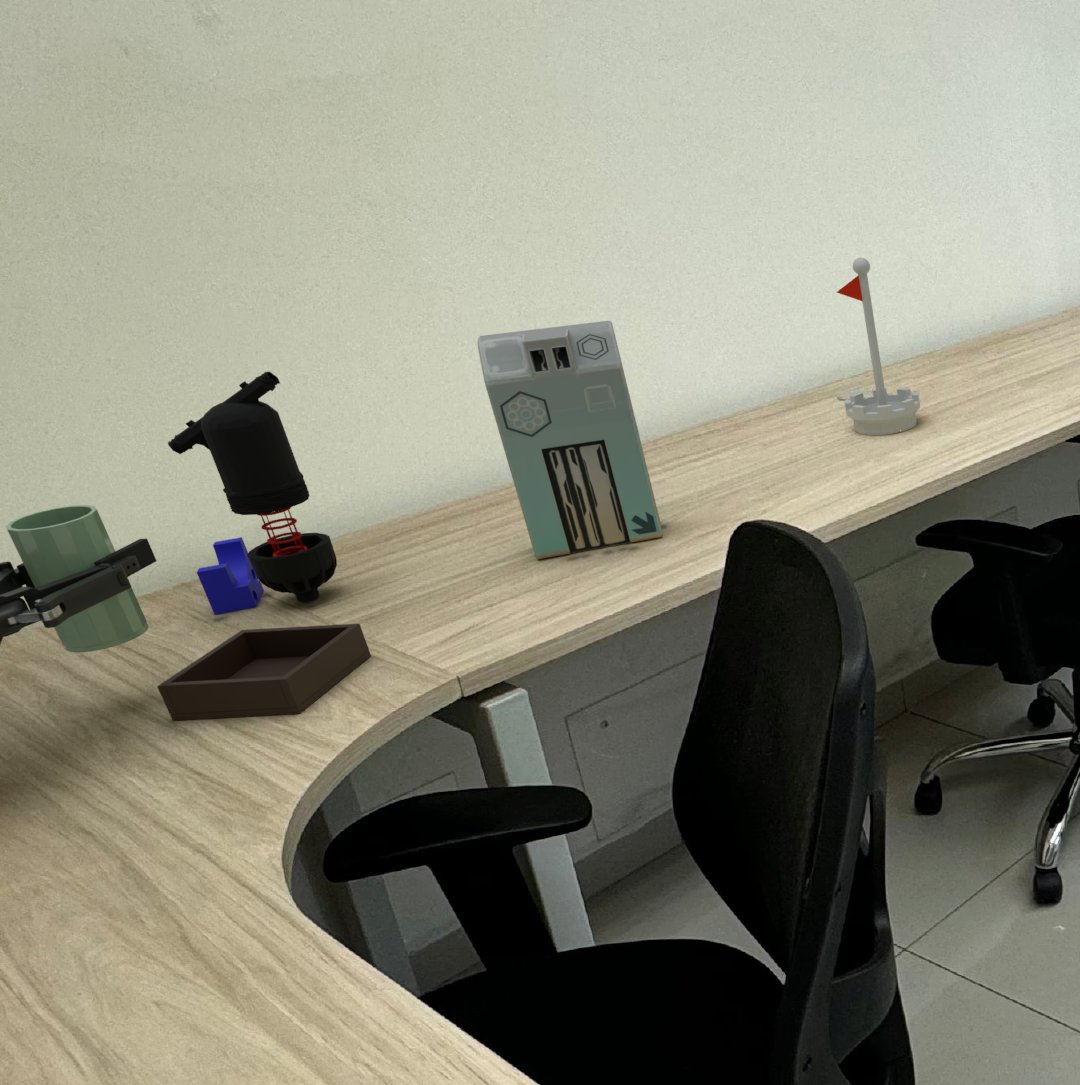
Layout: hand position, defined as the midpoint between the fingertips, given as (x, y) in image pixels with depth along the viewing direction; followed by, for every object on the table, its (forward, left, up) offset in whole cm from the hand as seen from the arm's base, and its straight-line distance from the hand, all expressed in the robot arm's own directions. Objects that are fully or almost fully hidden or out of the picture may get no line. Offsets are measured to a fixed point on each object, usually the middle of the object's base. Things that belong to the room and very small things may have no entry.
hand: (111, 551), depth 136 cm
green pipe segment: (0, -5, -8) cm, 9 cm away
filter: (+1, +22, -16) cm, 28 cm away
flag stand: (+65, +89, -16) cm, 111 cm away
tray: (+14, -3, -16) cm, 22 cm away
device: (+34, +38, -16) cm, 54 cm away
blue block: (-8, +25, -16) cm, 31 cm away
